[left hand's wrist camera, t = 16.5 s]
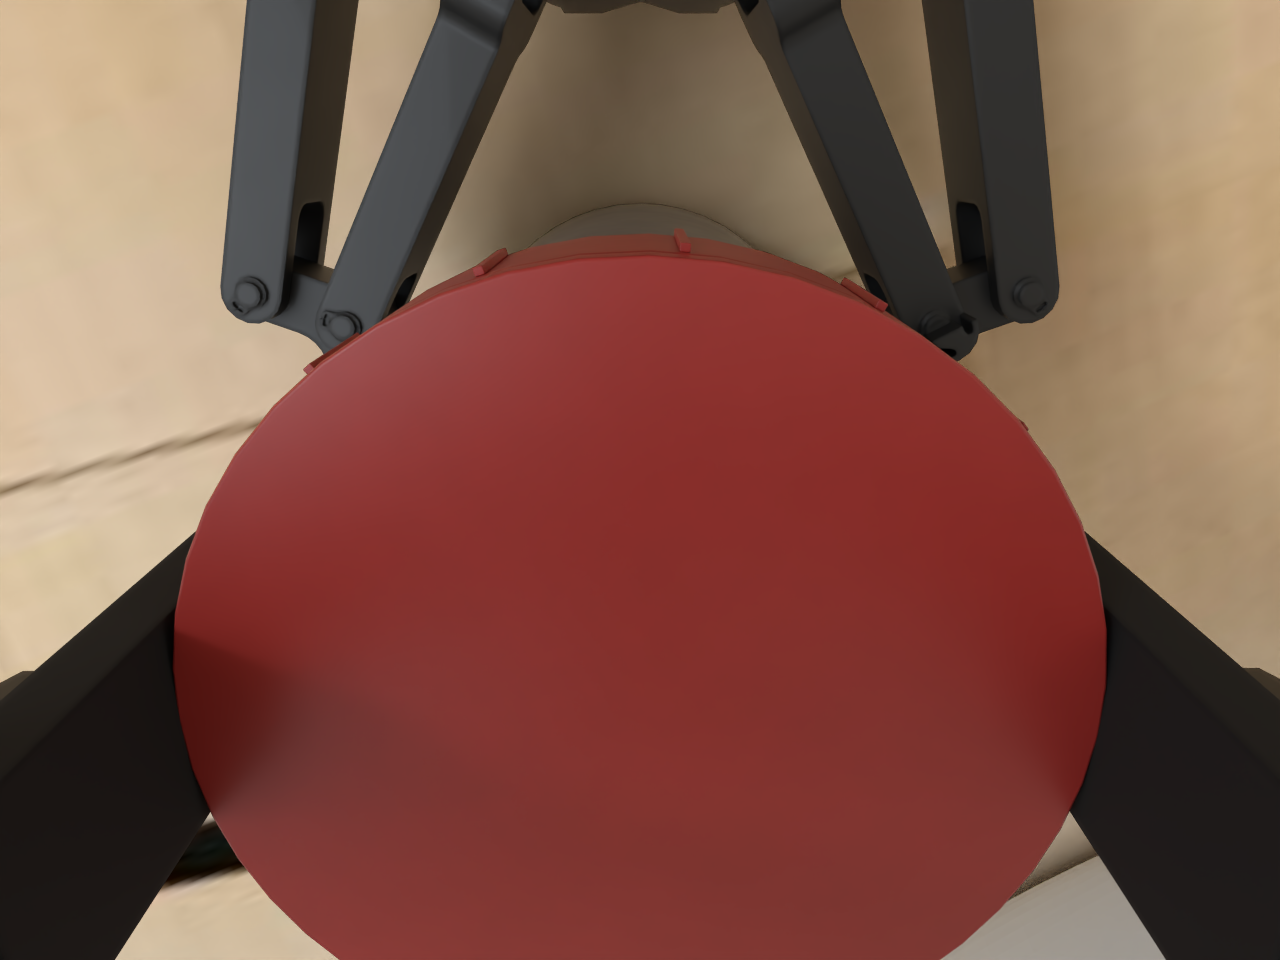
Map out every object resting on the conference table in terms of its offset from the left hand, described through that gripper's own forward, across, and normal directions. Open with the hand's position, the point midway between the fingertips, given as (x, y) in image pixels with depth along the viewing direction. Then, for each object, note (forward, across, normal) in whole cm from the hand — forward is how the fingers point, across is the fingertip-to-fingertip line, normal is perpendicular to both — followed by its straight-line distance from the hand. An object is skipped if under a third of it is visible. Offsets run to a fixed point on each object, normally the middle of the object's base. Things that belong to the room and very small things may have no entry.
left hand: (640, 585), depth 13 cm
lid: (-3, 0, 0) cm, 3 cm away
